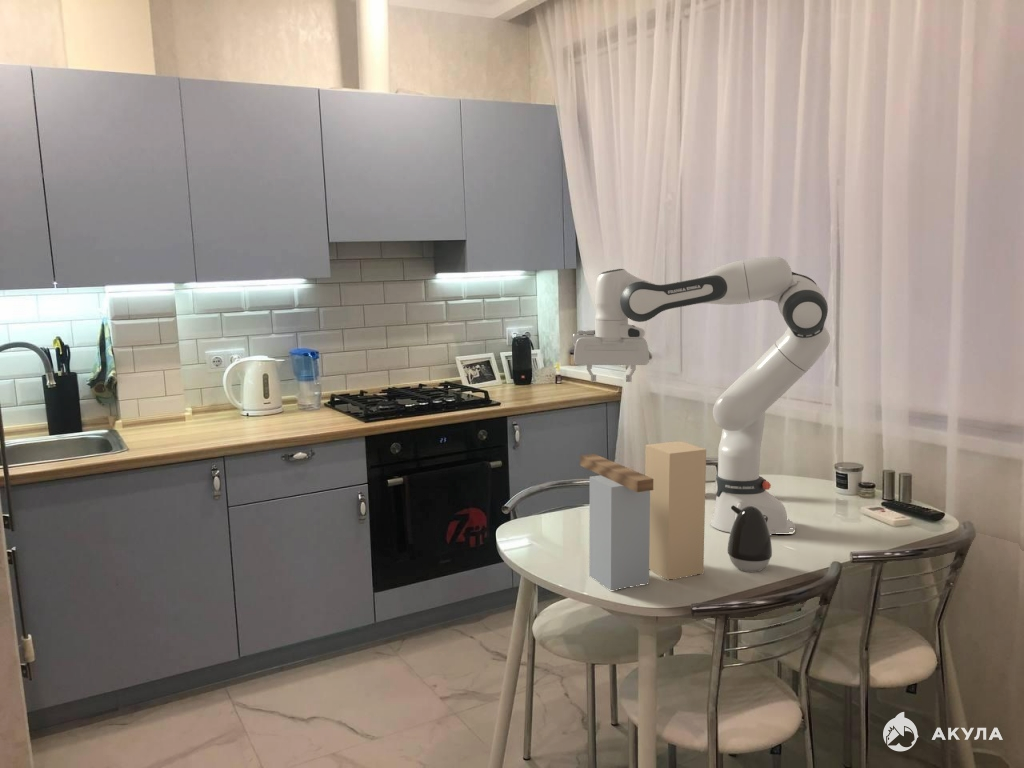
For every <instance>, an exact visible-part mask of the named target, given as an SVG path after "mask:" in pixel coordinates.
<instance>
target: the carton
mask: <svg viewBox="0 0 1024 768" xmlns="http://www.w3.org/2000/svg"><path fill="white" fill-rule="evenodd" d="M644 450H645V452H644V455H645V459H644V460H645V465H644V466H645V467H644V468H645V470H644V475H646V476H648V477H650V478H653V490H650V546H649V569H650V570H649V571H651V570H652V571H651V572H653V573H654V572H655V573H654V574H656V575H658V576H659V575H660V577H661V576H662V577H664V578H665V579H664V578H663V579H664V580H666V579H667V580H668V581H670V580H669V579H673V580H676V579H675V578H679V579H681V578H680V577H684V578H687V577H686V576H689V577H692V576H691V575H694V576H698V575H697V574H700V575H703V574H704V566H705V565H704V563H705V562H704V561H705V557H704V555H705V521H706V520H705V518H706V516H705V515H706V478H707V477H706V474H707V473H706V472H707V449H706V448H704V447H700V446H697V445H694V444H691V443H688V442H685V441H682V440H678V441H676V440H675V441H670V442H669V441H668V442H660V443H659V442H658V443H651V444H645V449H644ZM702 573H703V574H702ZM662 577H661V578H662ZM667 580H666V581H667Z"/></svg>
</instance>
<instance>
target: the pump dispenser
mask: <svg viewBox="0 0 1024 768" xmlns="http://www.w3.org/2000/svg"><path fill="white" fill-rule="evenodd" d="M731 509H732V510H733V511H734V512H735V513H736V514H738V515H737V517H736V519H735V521H734V524H733V526H732V529H731V533H729V537H728V543H727V554H728V556H729V560H730V562H731V564H733V566H734V567H735V568H737V570H741V571H743V572H747V571H748V573H755V571H756V572H759V571H762V570H763V569H765V568H766V567H767V566H768V565H769V562H770V559H771V558H772V556H773V547H772V539H771V535H770V533H769V530H768V526H767V523H766V521H765V518H764V516H763V514H762V513H761V511H760V510H759V509H757V508H756V507H752V506H748V507H745V508H743V509H742V510H740V509H739V508H737V507H735V506H734V505H733V506H732V507H731Z"/></svg>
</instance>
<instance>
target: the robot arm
mask: <svg viewBox="0 0 1024 768" xmlns="http://www.w3.org/2000/svg"><path fill="white" fill-rule="evenodd" d="M594 289H595V291H594V304H595V315H594V330H578V331H577V332H574V333H573V335H572V338H571V339H572V345H573V347H574V351H573V363H574V364H575V365H576V366H586V370H587V372H588V374H589V375H590V382H591V383H592V382H593V383H594V382H595V383H596V382H597V374H594V373H593V371H592V369H593V366H630V367H629V368H630V370H631V371H630V372H629V374H625V382H626V383H632V381H633V380H632V379H633V378H632V376H633V375H634V373H635V371H636V370H637V369H636V368H637V366H647V365H648V364H649V363H650V353H649V345H648V342H647V340H646V338H644V337H645V334H646V332H645V329H643V328H641V327H639V326H635V325H634V324H633V325H632V324H629V320H631V321H633V322H637V323H643V322H647V321H650V320H652V319H654V318H655V317H656V316H657V315H658V314H660V313H661V312H662V313H663V312H664V311H667V310H671V309H676V308H682V307H688V306H692V305H693V306H694V305H699V304H702V305H703V304H710V305H726V306H727V305H728V306H730V305H741V304H742V305H743V304H749V303H754V302H759V301H771V302H774V303H776V304H777V307H778V310H779V312H780V314H781V315H782V317H783V320H784V322H785V323H786V325H787V328H786V330H785V331H784V333H783V334H782V335H781V336H780V337H779V338H778V339H777V340H776V341H775V342H774V343H773V344H772V345H771V346H770V347H769V348H768V349H767V350H766V351H765V352H764V353H763V354H762V355H761V356H760V358H758V359H757V361H755V363H753V364H752V365H751V366H750V367H749V368H748V369H746V371H744V373H742V374H741V375H740V376H739V377H738V378H737V379H736V380H735V381H734V382H733V383H732V384H731V385H729V386H728V388H727V389H726V390H725V391H723V393H721V395H719V396H718V397H717V399H716V401H715V402H714V405H713V408H712V416H713V417H712V418H713V420H714V422H715V423H716V425H717V426H718V427H720V428H721V429H722V431H721V436H720V442H719V444H718V449H717V451H718V453H717V454H718V456H717V474H716V477H715V486H714V487H715V489H714V490H715V495H716V496H715V503H714V504H715V505H714V509H713V514H712V517H711V520H710V522H709V524H710V525H711V527H712V528H714V529H716V530H719V531H721V532H726V533H729V534H730V533H731V529H732V526H733V524H734V521H735V519H736V517H737V515H738V514H736V513H735V512H734V511H733V510H732V509H731V507H732V506H733V505H734V506H735V507H737V508H739V509H740V510H742V509H743V508H745V507H748V506H752V507H756V508H757V509H759V510H760V511H761V513H762V514H763V516H764V518H765V521H766V523H767V526H768V530H769V533H770V534H776V533H789V532H793V531H794V530H795V528H796V525H795V523H794V522H793V521H792V520H791V519H789V518H788V515H787V509H786V507H785V505H784V504H783V502H781V500H779V499H778V498H776V497H775V496H774V495H773V494H771V493H770V492H769V491H768V490H770V489H771V487H772V485H771V483H770V481H768V480H767V479H765V478H764V477H763V476H760V461H761V460H760V459H761V446H762V439H763V433H764V427H765V425H764V424H765V419H766V417H765V416H766V411H767V410H768V409H769V408H770V407H771V406H773V405H774V404H775V403H776V401H778V400H779V398H781V397H782V396H783V395H784V394H785V393H786V392H787V391H788V390H790V389H791V387H793V386H794V384H796V383H797V382H798V381H799V380H800V379H801V378H802V377H803V376H804V375H805V374H806V373H807V372H808V371H809V370H810V369H811V367H813V366H814V365H815V364H816V363H817V361H818V360H819V359H820V358H821V356H822V355H823V354H824V353H825V351H826V349H827V348H828V347H829V345H830V342H831V335H830V333H829V330H828V329H827V328H826V327H825V323H826V320H827V317H828V311H829V307H828V302H827V300H826V298H825V297H826V296H825V295H824V293H823V291H822V289H821V288H820V287H819V286H818V284H817V283H816V282H815V280H814V279H812V278H810V277H809V276H807V275H803V274H800V273H797V272H793V271H792V269H791V266H790V265H789V263H788V262H787V261H786V259H784V258H783V257H780V256H779V257H778V256H766V257H765V256H764V257H763V256H762V257H761V256H760V257H754V258H753V257H752V258H745V259H741V260H737V261H733V262H729V263H726V264H723V265H720V266H718V267H715V268H713V269H711V270H710V271H708V272H706V273H705V274H703V275H700V276H697V277H695V278H692V279H687V280H683V281H676V282H672V283H670V282H669V283H666V284H655V283H653V282H651V281H648V280H644V279H642V278H640V277H637V276H635V275H633V274H631V273H630V272H628V271H627V270H626V269H624V268H616V269H610V270H607V271H603V272H600V274H598V276H597V278H596V281H595V288H594ZM787 518H788V520H787ZM790 520H791V521H790ZM790 528H793V529H790Z"/></svg>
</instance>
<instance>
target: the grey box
mask: <svg viewBox="0 0 1024 768" xmlns="http://www.w3.org/2000/svg"><path fill="white" fill-rule="evenodd" d="M588 528H589V534H588V535H589V536H588V537H589V539H588V540H589V541H588V542H589V543H588V544H589V545H588V546H589V555H588V556H589V557H588V558H589V561H588V562H589V567H588V568H589V569H588V570H589V571H588V572H589V575H588V576H589V577H590V576H591V577H592V579H593V578H594V579H596V580H597V581H598V582H600V583H601V584H602V585H601V584H600V583H599V584H600V585H601V586H603V585H604V586H605V587H607V588H608V589H610V590H616V589H619V588H624V587H630V586H636V585H640V584H647V583H649V584H650V570H649V546H650V491H643V492H636V491H634V490H632V489H629V488H627V487H625V486H623V485H621V484H619V483H616V482H614V481H612V480H610V479H608V478H606V477H604V476H601V475H599V474H598V475H594V476H589V527H588ZM591 577H590V578H591ZM594 579H593V580H594ZM596 580H595V581H596ZM597 581H596V582H597ZM598 582H597V583H598ZM647 585H648V584H647ZM604 586H603V587H604ZM605 587H604V588H605ZM607 588H606V589H607ZM608 589H607V590H608ZM610 590H609V591H610ZM616 591H617V590H616Z"/></svg>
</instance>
